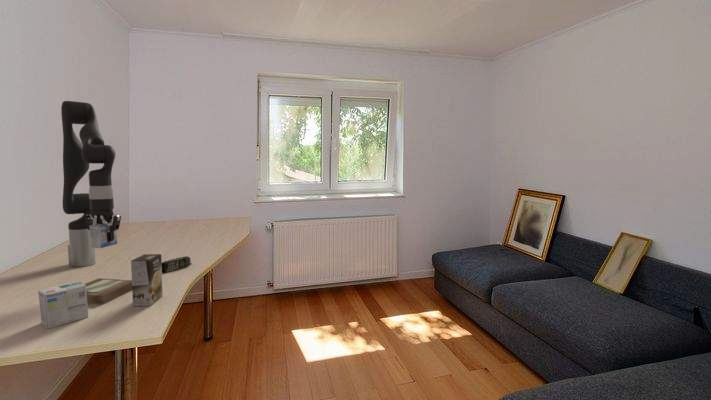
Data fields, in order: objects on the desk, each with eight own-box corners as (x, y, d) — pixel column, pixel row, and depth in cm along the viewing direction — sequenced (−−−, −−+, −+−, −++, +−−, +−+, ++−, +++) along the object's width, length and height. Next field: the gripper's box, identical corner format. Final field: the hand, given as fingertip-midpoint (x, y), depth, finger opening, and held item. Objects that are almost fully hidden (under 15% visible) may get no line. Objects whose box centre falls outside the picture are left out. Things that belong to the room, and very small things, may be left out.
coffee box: (151, 306, 126) (149, 260, 124) (132, 306, 126) (130, 260, 124) (163, 296, 135) (161, 253, 133) (145, 296, 135) (143, 253, 133)
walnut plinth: (62, 301, 129) (61, 292, 128) (98, 285, 145) (98, 277, 144) (103, 304, 127) (103, 294, 127) (136, 288, 143) (136, 279, 142)
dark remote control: (163, 263, 160) (193, 254, 173) (159, 262, 162) (189, 253, 175) (164, 274, 161) (194, 265, 174) (159, 272, 163) (190, 264, 175)
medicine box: (100, 248, 138) (99, 225, 137) (90, 247, 139) (89, 225, 138) (117, 243, 145) (116, 222, 145) (108, 243, 146) (106, 221, 145)
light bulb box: (81, 311, 121) (78, 280, 119) (89, 317, 117) (87, 284, 116) (39, 323, 112) (36, 289, 111) (47, 329, 108) (44, 294, 107)
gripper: (75, 198, 137) (79, 242, 139) (111, 198, 136) (114, 243, 137) (92, 196, 145) (95, 238, 146) (125, 196, 143) (128, 239, 145)
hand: (104, 241), depth 142 cm, fingers closed on medicine box, 4 cm apart
